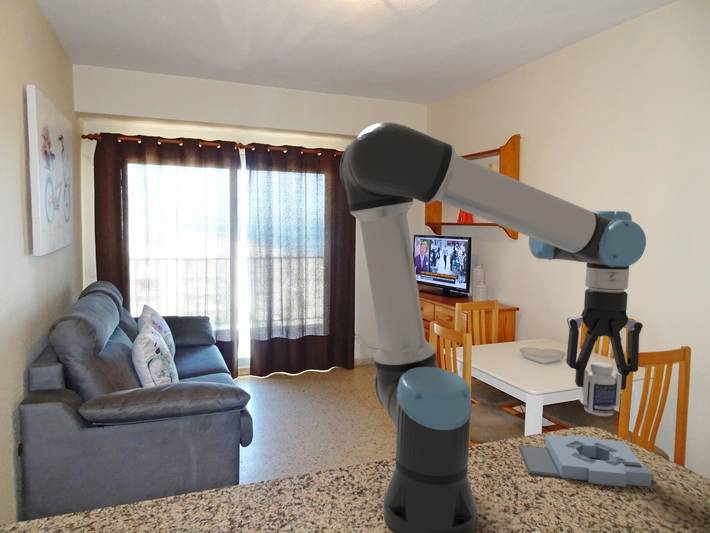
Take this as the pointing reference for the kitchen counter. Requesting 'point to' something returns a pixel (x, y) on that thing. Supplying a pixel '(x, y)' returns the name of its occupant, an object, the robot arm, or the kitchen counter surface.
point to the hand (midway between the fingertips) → (599, 403)
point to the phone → (538, 461)
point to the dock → (597, 461)
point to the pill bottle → (601, 390)
